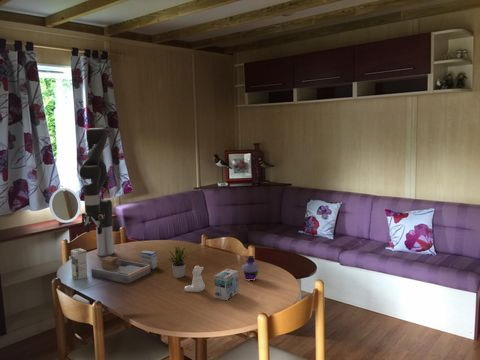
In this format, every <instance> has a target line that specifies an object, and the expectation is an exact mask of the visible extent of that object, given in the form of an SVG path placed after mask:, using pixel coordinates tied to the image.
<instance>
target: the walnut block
mask: <svg viewBox="0 0 480 360" xmlns="http://www.w3.org/2000/svg"><path fill="white" fill-rule="evenodd" d="M118 259H119V257H116V256H111V255H108V256H104V257H103V258H101V267H102V268H105V269H110V270H113V269H115V268H118V267H119V261H118Z"/></svg>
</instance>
